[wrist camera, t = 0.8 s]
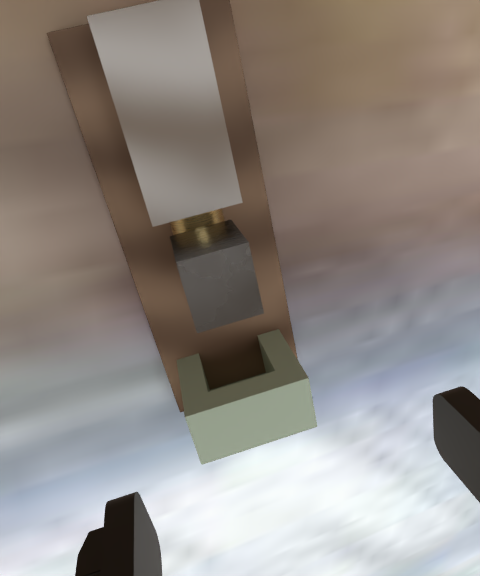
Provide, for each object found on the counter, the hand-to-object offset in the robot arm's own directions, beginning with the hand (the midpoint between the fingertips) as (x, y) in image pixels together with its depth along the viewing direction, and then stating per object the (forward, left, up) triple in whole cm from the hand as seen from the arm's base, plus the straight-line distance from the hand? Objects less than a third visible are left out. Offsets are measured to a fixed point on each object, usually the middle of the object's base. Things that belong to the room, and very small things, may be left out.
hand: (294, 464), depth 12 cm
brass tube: (-3, -3, -19) cm, 20 cm away
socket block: (+7, +8, -20) cm, 23 cm away
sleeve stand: (0, 0, -22) cm, 22 cm away
